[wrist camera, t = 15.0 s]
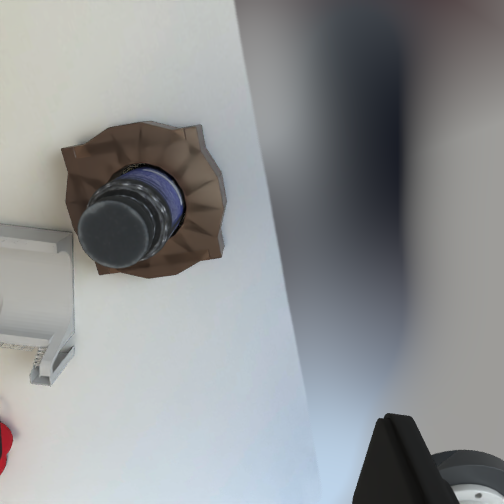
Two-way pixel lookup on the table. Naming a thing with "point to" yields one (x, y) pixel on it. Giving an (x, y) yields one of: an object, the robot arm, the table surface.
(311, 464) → the table surface
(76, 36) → the table surface
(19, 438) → the table surface
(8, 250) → the skate ramp
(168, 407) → the table surface
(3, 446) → the alarm clock
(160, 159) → the ring
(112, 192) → the pill bottle
